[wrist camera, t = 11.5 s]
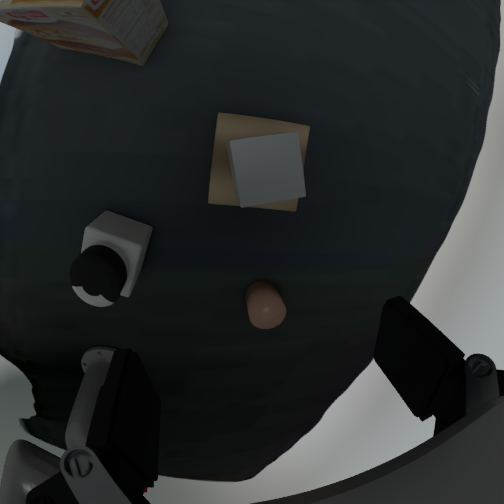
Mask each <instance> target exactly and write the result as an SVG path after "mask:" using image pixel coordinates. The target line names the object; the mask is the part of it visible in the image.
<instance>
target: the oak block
mask: <svg viewBox="0 0 504 504" xmlns="http://www.w3.org/2000/svg"><path fill="white" fill-rule="evenodd" d="M309 128H310V126H306V125H301V124H295V123H290V122H285V121H279V120H273V119H267V118H260V117H253V116H245V115H237V114H228V113H218V116H217V123H216V131H215V139H214V148H213V156H212V165H211V175H210V185H209V196H208V204H221V205H233V206H240V204H239V202H238V200H237V198H236V195H235V191H234V185H233V179H232V174H231V168H230V162H229V157H228V151H227V145H226V141H229V140H234V139H240V138H247V137H253V136H260V135H267V134H275V133H284V132H298V135H299V143H300V150H301V158H302V166H303V167H304V160H305V154H306V148H307V141H308V134H309ZM297 203H298V198H293V199H288V200H282V201H276V202H270V203H265V204H259V205H254V206H249V207H256V208H266V209H276V210H286V211H295V212H296V208H297Z"/></svg>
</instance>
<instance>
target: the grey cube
mask: <svg viewBox="0 0 504 504" xmlns="http://www.w3.org/2000/svg"><path fill="white" fill-rule="evenodd" d="M226 145H227V151H228V157H229V162H230V168H231V174H232V179H233V185H234V191H235V195H236V198H237V200H238V202H239V204H240V206H241V208H243V207H249V206H254V205H259V204H265V203H270V202H276V201H282V200H288V199H293V198H299V197H306V193H305V183H304V175H303V166H302V158H301V150H300V143H299V135H298V132H284V133H275V134H267V135H260V136H253V137H247V138H240V139H234V140H229V141H226Z"/></svg>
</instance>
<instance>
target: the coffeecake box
mask: <svg viewBox="0 0 504 504" xmlns="http://www.w3.org/2000/svg"><path fill="white" fill-rule="evenodd" d="M0 22H2V23H5V24H7V25H10V26H12V27H15V28H17V29H20V30H22V31H25V32H27V33H29V34H32V35H34V36H36V37H38V38H41V39H43V40H45V41H47V42H49V43H51V44H53V45H55V46H57V47H58V48H62V49H68V50H74V51H80V52H85V53H90V54H95V55H100V56H105V57H109V58H114V59H118V60H122V61H126V62H130V63H134V64H137V65H141V66H144V65H145V63H146V61H147V59H148V58H149V56H150V54H151V52H152V50H153V49H154V47H155V45H156V44H157V42H158V41H159V39H160V38H161V36H162V34H163V33H164V31H165V30H166V28H167V27H168V25H169V23H168V21H167V18H166V15H165V13H164V10H163V7H162V4H161V2H160V0H0Z"/></svg>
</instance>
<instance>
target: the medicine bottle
mask: <svg viewBox="0 0 504 504" xmlns="http://www.w3.org/2000/svg"><path fill="white" fill-rule="evenodd" d="M152 230H153V228H152V226H150V225H147V224H144V223H141V222H138V221H136V220H133V219H130V218H127V217H124V216H122V215H119V214H116V213H113V212H110V211H105V212H103V213H102V214H101V215H100V216H98V217H97V218H96V219H95V220H93V221H92V222H91V223H90V224H89V225H87V226H86V228H85V233H84V238H83V244H82V250H81V254H80V255H79V256H78V257H77V258H76V260H75V261H74V262H73V263H72V265H71V268H70V281H71V285H72V287H73V289H74V291H75V292H76V294H77V295H78V296H79V297H80V298H81V299H82V300H83V301H85V302H86V303H88V304H90V305H93V306H98V307H104V306H109V305H111V304H113V303H114V302H115V301H116V300H117V299H118V298H119V296H120V295H122V296H125V297H129V296H130V294H131V292H132V289H133V287H134V285H135V282H136V280H137V278H138V276H139V273H140V271H141V268H142V264H143V261H144V257H145V253H146V250H147V247H148V243H149V240H150V237H151V233H152Z"/></svg>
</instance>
